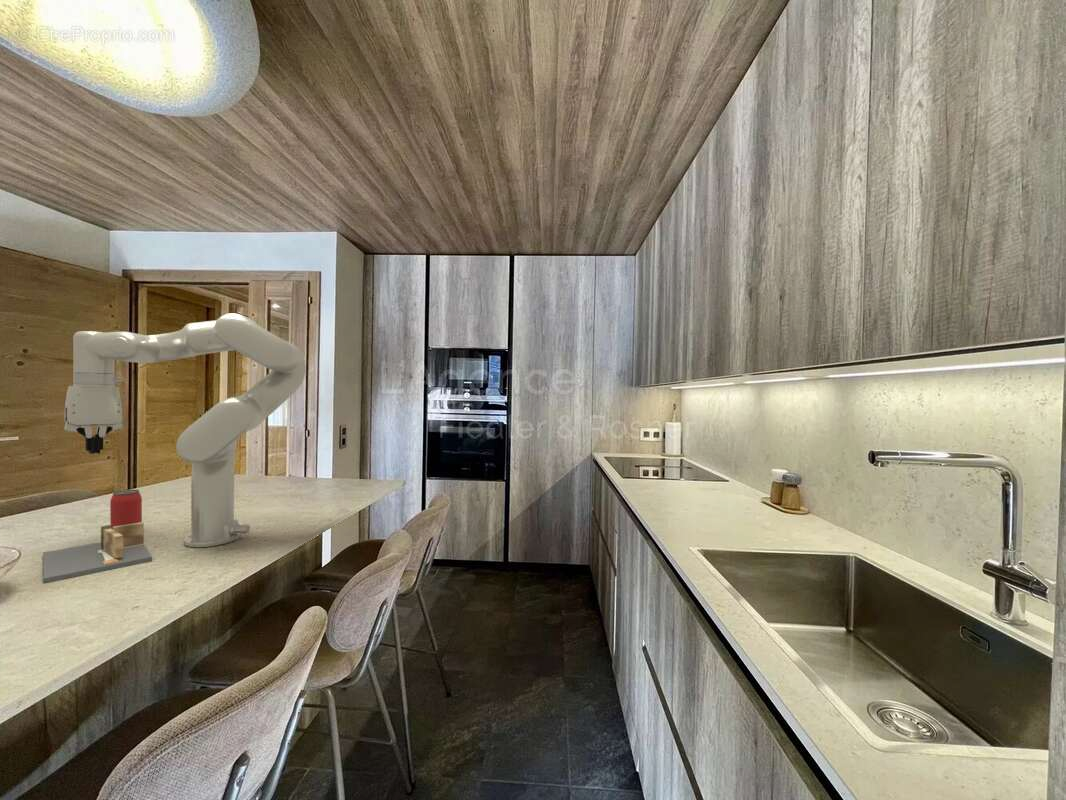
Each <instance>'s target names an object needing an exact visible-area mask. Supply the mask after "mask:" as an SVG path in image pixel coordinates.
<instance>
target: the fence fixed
mask: <svg viewBox="0 0 1066 800" xmlns="http://www.w3.org/2000/svg"><path fill="white" fill-rule="evenodd" d="M144 527H145V526H144V522H143V521H142V522H140V523H134V524H127V525H121V526H114V527H113V530H114V531H116V532H118V533H119V534H121V535H123V548H124V547H130V546H135V545H141V544H144V543H145V540H144V539H145V535H144V533H145V531H144V529H145V528H144ZM144 545H145V544H144Z"/></svg>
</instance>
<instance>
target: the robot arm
mask: <svg viewBox="0 0 1066 800" xmlns="http://www.w3.org/2000/svg"><path fill="white" fill-rule="evenodd" d="M72 337H73V339H72V340H73V344H72V346H73V351H72V354H73V357H72V358H73V359H72V360H73V361H72V362H73V366H72V367H73V375H72V377H73V382H72V383H73V384H72V385H69V386H68V387H67V391H66V396H65V403H64V404H65V405H64V413H63V415H64V423H65V424H64V427H63V430H65V431H68V432H75V433H78V434H80V435H81V436H83V437H84V438H85V451H88V454H90V455H94V454H101V450H104V438H105V437H106V435H107V434H109V433H110V432H112V431H116V430H120V429H122V428H123V427H124V425H123V423H122V421H123V407H122V399H121V393H120V390H119V387H118V386H115V385H116V384H117V383H122V382H123V377H121V376H117V375H116V373H115V362H116V361H119V362H128V363H138V364H153V363H161V362H167V361H172V360H180V359H185V358H191V357H196V356H201V355H208V354H215V353H222V352H230V351H236V352H238V353H240V354H241V355H243V356H245V357H247V358H248V359H250V360H252V361H253V362H255V363H257V364H259V365H260V366H262V367H264V368H266V369H268V370H270V371H269V372H268V374H266V375H265V376H264V377H262V378H261V379H260V380H258V381H257V382H256V383H255V384H253V386H251V387H250V388H249V389H247V391H245V392H244V393H241V395H239V396H231V397H227V398H224V399H222V400H221V401H219V402H218V403H216V404H215V405H213V406H212V407H211V408H210V409H209V410H207V411H206V412H205V413H204V414H203V415H202V416H200V417H199V418H198V419H197V420H195V421H194V422H193V423H192V424H190V426H187V428H186V429H184V431H183V432H181V434H180V435H179V437H178V439H177V441H176V448H175V449H176V452H177V454H178V456H179V457H180V458H181V459H182V460H183V461H185V462H187V463H190V464H192V466H191V475H190V476H191V477H190V478H191V479H190V482H191V483H190V499H191V500H190V501H191V502H190V503H191V504H190V506H191V507H190V515H191V516H190V518H191V519H190V521H191V523H190V524H191V525H190V527H191V528H190V529H191V530H190V532H191V534H190V535H188V536H187V537H185V538H184V540H183V544H184V546H186V547H191V548H207V547H214V546H221V545H225V544H229V543H231V542H234V541H236V540H238V539H239V538H241V535H242V534H249V533H250V531H251V526H250V525H249V524H240V523H239V519H235V464H236V457H237V456H236V455H237V447H238V443H237V442H238V441H237V439H239V438H240V437H241V436H242V435H243V434H244V433H246V432H249V431H252V430H254V429H256V428H257V427H259V426H260V425H261V424H262V423H263V422H264V421H265V420H266V419H267V418H268V417H269V416H271V414H273V413H274V412H275V411H276V410H278V409H279V408H280V407H281V406H282V405H283V404H284V403H285V402H286V401H287V400H288V399H289V398H291V396H292V395H294V394H295V393H296V391H298V389H299V388H300V387H301V386H302V383H303V381H304V379H305V375H306V370H307V368H306V367H307V366H306V360H305V358H304V355H303V353H302V352H301V350H300V349H299V347H297V346H296V345H295V344H293V343H291V342H290V341H287V340H285V339H282V337H279V336H277V335H276V334H273V333H272V332H270V331H268V330H267V329H265V328H263V327H262V326H260V325H258V323H257V322H256V321H254V319H251V318H250V317H248V316H245V315H243V314H240V313H235V312H234V313H233V312H231V313H226V314H222V315H221V316H219V318H217V319H215V320H214V319H213V320H206V321H198V322H190V323H187V324H185V325H184V327H183V328H182V329H180V330H177V331H173V332H167V333H160V334H159V333H158V334H150V335H149V334H148V335H145V334H140V333H135V332H131V331H111V332H102V331H90V330H89V331H88V330H81V331H76V332H75V333H74V335H73V336H72ZM92 426H93V427H94V426H97V428H96V433H95V435H94V434H93V430H92Z"/></svg>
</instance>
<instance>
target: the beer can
mask: <svg viewBox="0 0 1066 800" xmlns="http://www.w3.org/2000/svg"><path fill="white" fill-rule="evenodd" d="M109 503H110V507H109V508H110V512H109V513H110V514H109V515H110V518H109V519H110V522H109V523H110V525H111V529H112V530H113V527H114V526H121V525H127V524H134V523H140V522H143V504H142V503H143V498H142V495H141V493H140V490H139V489H124V490H117V491H113V492H112V496H111V498H110V502H109Z"/></svg>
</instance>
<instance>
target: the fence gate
mask: <svg viewBox="0 0 1066 800" xmlns="http://www.w3.org/2000/svg"><path fill="white" fill-rule="evenodd" d="M100 542H101V550H105V551H106V552H108V553H109V554H111V555H112V556H114V557H115V558H120V557H123V535H121V534H119V533H118V532H116V531H114V530H112V529H111V525H109V524H108V525H102V526H100Z"/></svg>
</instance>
